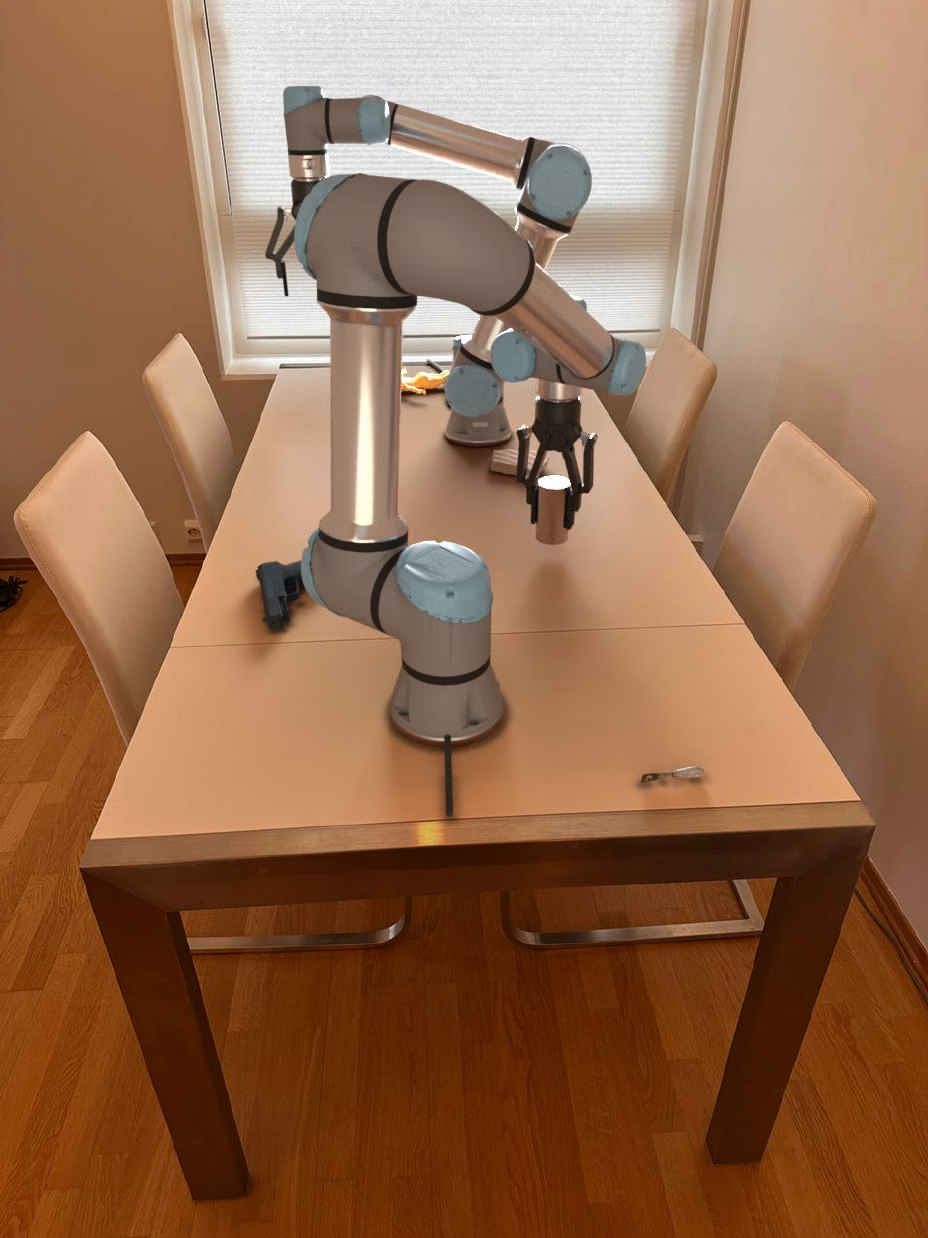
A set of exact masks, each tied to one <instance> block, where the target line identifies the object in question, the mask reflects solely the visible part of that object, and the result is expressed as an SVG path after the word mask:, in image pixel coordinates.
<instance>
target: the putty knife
mask: <svg viewBox="0 0 928 1238" xmlns="http://www.w3.org/2000/svg"><path fill="white" fill-rule="evenodd" d="M704 772H705V771H704V768H702V767H701V766H697V765H695V766H688V767H683V768H679V769H675V770H673V771H671V772H653V773H652V772H651V773H650V772H649V773H644V774H642V776H641V779H640V783H642V784H645V783H648V782H653V781H659V780H665V779H668V778H673V779H674V778H675V779H693V778H694V779H695V778H700V777H702V776H703V775H704Z"/></svg>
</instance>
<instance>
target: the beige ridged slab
mask: <svg viewBox="0 0 928 1238" xmlns="http://www.w3.org/2000/svg"><path fill="white" fill-rule="evenodd" d="M537 451H538V450H533V449H529V456H528V467H527V476H529V474H530V471H531V469H532V466H533V463H534V460H535V458H536V455H537ZM517 461H518V449H510V448H502V449H494V450H493V452H492V459H491V465H490V469H489V470H490V471H492V472H497V473H501V474H504V475H513V476H516V473H517ZM549 461H550V456H549V455H547V454H546V457H545V459H544V462H543V465H542V467H541V470H540V473H539V476H538V478H537V480H539V479H540V476H541V472H542V471H544V469H545V468H547V466H548V463H549Z"/></svg>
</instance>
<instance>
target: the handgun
mask: <svg viewBox="0 0 928 1238" xmlns="http://www.w3.org/2000/svg"><path fill="white" fill-rule="evenodd" d="M255 576H256V579H257V581H259V586H260V591H261V592H260V593H261V598H262V599H261V600H262V605H263V610H264V615H265V617H264V618H262V619H261V622H262V623H266V627H267V628H268V629H270V630H271V631H277V630H283V628H284V626H285V623H284V622H285V621H286V623H287V624H289V623H290V613H289V607H288V603H291V602H295V601H298V600H300V590H302V589H305V586H304V584H303V580H302V575H301V560H297V561H294V562H291V563H288V564H283V563H280V562H279V561H267V562H263V563H261V564H259V565H257V569H256V570H255ZM290 592H293V593H290Z"/></svg>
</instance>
